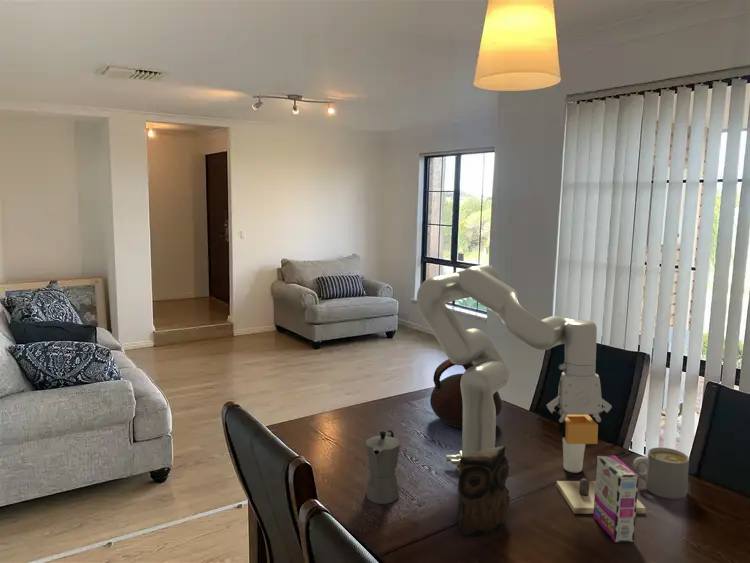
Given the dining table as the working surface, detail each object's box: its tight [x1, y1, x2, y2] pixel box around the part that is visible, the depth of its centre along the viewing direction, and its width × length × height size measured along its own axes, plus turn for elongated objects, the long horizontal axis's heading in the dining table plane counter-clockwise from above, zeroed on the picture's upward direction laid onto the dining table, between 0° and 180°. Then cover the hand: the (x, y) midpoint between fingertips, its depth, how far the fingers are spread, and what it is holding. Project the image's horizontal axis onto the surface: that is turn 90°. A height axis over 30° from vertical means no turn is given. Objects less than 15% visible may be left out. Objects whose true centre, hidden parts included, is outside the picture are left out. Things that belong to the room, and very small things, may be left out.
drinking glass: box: [562, 437, 586, 474], centre depth 166 cm, size 7×7×15 cm
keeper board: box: [556, 477, 646, 515], centre depth 150 cm, size 18×14×6 cm
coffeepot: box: [365, 429, 401, 505], centre depth 152 cm, size 15×9×18 cm, turn 162°
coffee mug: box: [632, 446, 690, 500], centre depth 155 cm, size 13×10×10 cm
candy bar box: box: [593, 455, 639, 543], centre depth 135 cm, size 11×5×16 cm, turn 5°
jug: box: [429, 358, 503, 429], centre depth 201 cm, size 25×25×25 cm
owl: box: [457, 445, 511, 539], centre depth 136 cm, size 13×13×20 cm
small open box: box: [562, 414, 599, 445], centre depth 146 cm, size 7×7×5 cm
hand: (578, 434), depth 147 cm, fingers closed on small open box, 7 cm apart
